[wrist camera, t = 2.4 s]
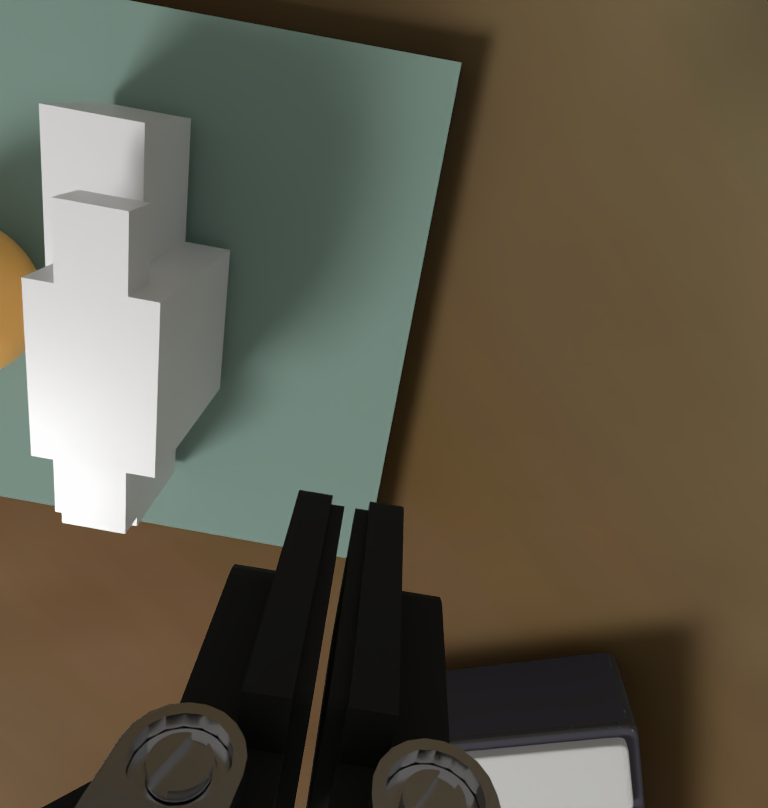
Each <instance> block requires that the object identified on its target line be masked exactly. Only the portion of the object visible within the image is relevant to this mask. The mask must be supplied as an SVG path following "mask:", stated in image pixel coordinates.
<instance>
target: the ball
mask: <svg viewBox="0 0 768 808" xmlns="http://www.w3.org/2000/svg"><path fill="white" fill-rule="evenodd" d="M35 271H36V269H35V267H34V265H33V263H32V262H31V260H30V258H29V257H28V256H27V254H26V253H25V252H24V251H23V249H22V248H21V247H20V246H19V245H18V244H17V243H16V242H15V241H14V240H12V239H11V238H10V237H9V236H8V235H6V234H5V233H3V232H2V231H0V369H2V368H4V367H6V366H8V365H9V364H11V363H12V362H14V361H15V360H16V359H17V358H19V357H20V356H21V355H22V354H23V353H24V352H25V336H24V318H23V300H22V282H21V277H23V276H25V275H28V274H30V273H32V272H35Z"/></svg>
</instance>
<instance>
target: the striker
mask: <svg viewBox="0 0 768 808" xmlns="http://www.w3.org/2000/svg"><path fill="white" fill-rule="evenodd" d="M39 121H40V146H41V171H42V196H43V220H44V245H45V267H44V268H41V269H39V270H37V271H35V272H32V273H30V274H28V275H25V276H23V277H21V282H22V300H23V318H24V336H25V354H26V372H27V390H28V408H29V426H30V444H31V456H36V457H41V458H47V459H52V460H53V468H54V493H55V512H61V513H62V523H67V524H73V525H78V526H84V527H89V528H95V529H101V530H106V531H112V532H117V533H123V534H126V532H127V531H128V529H129V528H130V527H131V525H133V526H137V525H138V524H139V522H140V521H141V519H142V518H143V517H144V515H145V514H146V512H147V511H148V509H149V508H150V506H151V505H152V503H153V502H154V501H155V499H156V498H157V496H158V495H159V493H160V492H161V490H162V489H163V487H164V486H165V485H166V483H167V482H168V480H169V479H170V477H171V476H172V474H173V473H174V472H175V456H176V448H177V447H178V445H179V444H180V443H181V441H182V440H183V439H184V437H185V436H186V434H187V433H188V432H189V430H190V429H191V428H192V426H193V425H194V423H195V422H196V421H197V419H198V418H199V417H200V415H201V414H202V412H203V411H204V410H205V408H206V407H207V406H208V404H209V403H210V401H211V400H212V399H213V397H214V396H215V395H216V393H217V392H218V391H219V389H220V380H221V367H222V353H223V340H224V326H225V313H226V299H227V286H228V272H229V259H230V250H228V249H223V248H217V247H212V246H206V245H201V244H195V243H190V242H185V239H186V218H187V196H188V174H189V153H190V131H191V118H185V117H180V116H174V115H169V114H164V113H158V112H153V111H147V110H142V109H137V108H131V107H126V106H120V105H115V104H110V103H104V102H78V103H39Z"/></svg>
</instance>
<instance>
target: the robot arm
mask: <svg viewBox="0 0 768 808" xmlns="http://www.w3.org/2000/svg"><path fill="white" fill-rule="evenodd" d="M332 499H333V495H328V494H322V493H316V492H310V491H304V490H299V492H298V496H297V499H296V503H295V506H294V510H293V513H292V517H291V520H290V524H289V527H288V530H287V534H286V537H285V541H284V544H283V548H282V551H281V555H280V558H279V562H278V565H277V569H276V571H274V570H268V569H262V568H256V567H249V566H243V565H237V564H235V565H234V566H233V567H232V569H231V571H230V574H229V576H228V579H227V582H226V584H225V587H224V589H223V592H222V595H221V597H220V600H219V602H218V605H217V608H216V610H215V613H214V616H213V618H212V621H211V623H210V626H209V629H208V631H207V634H206V637H205V639H204V642H203V644H202V647H201V650H200V652H199V655H198V658H197V660H196V663H195V665H194V668H193V671H192V673H191V676H190V678H189V681H188V684H187V686H186V689H185V692H184V694H183V697H182V699H181V702H180V703H177V704H169V705H166V706H163V707H160V708H158V709H155V710H152V711H150V712H148V713H147V714H145V715H144V716H142V717H141V718H139V719H138V720H136V721H135V722H133V723H132V724H131V725H130V727H129V728H128V729H127V730H126V731H125V732H124V733H123V735H122V736H121V737H120V738H119V740H118V741H117V743H116V744H115V746H114V747H113V749H112V750H111V752H110V753H109V755H108V757H107V758H106V760H105V761H104V763H103V764H102V766H101V767H100V769H99V770H98V772H97V774H96V775H95V777H94V778H93V780H92V781H91V782H89V783H87V784H85V785H83V786H81V787H79V788H78V789H76V790H74V791H72V792H70V793H68V794H66V795H65V796H63V797H61V798H59V799H57V800H55V801H53V802H52V803H50V804H48V805H46V806H44V807H42V808H294V804H295V799H296V793H297V787H298V781H299V775H300V770H301V764H302V758H303V752H304V747H305V741H306V735H307V729H308V723H309V718H310V712H311V706H312V700H313V694H314V688H315V682H316V676H317V670H318V664H319V658H320V652H321V646H322V640H323V634H324V628H325V622H326V616H327V610H328V604H329V598H330V592H331V586H332V579H333V573H334V567H335V561H336V555H337V549H338V543H339V537H340V531H341V525H342V519H343V513H344V507H345V506H339V505H333V504H332ZM403 518H404V508H403V507H401V506H395V505H389V504H383V503H377V502H371V501H370V503H369V507H368V510H363V509H357V508H355V512H354V518H353V523H352V529H351V535H350V540H349V546H348V551H347V557H346V562H345V568H344V574H343V579H342V585H341V590H340V596H339V601H338V607H337V612H336V618H335V624H334V629H333V635H332V641H331V647H330V653H329V659H328V666H327V672H326V679H325V686H324V693H323V699H322V706H321V713H320V719H319V726H318V733H317V739H316V746H315V753H314V759H313V766H312V773H311V779H310V786H309V793H308V800H307V806H306V808H501V806H500V802H499V799H498V795H497V793H496V791H495V788H494V786H493V784H492V781H491V779H490V777H489V776H488V774H487V773H486V772H485V771H484V769H483V768H482V767H481V765H480V764H479V763H478V762H477V761H476V760H475V759H474V758H472V757H471V756H470V755H468V754H467V753H466V752H465V751H463V750H462V749H460V748H458V747H456V746H453V745H451V744H450V738H449V720H448V702H447V685H446V667H445V649H444V631H443V614H442V602H441V599H440V597H436V596H430V595H423V594H417V593H411V592H405V591H402V562H403Z"/></svg>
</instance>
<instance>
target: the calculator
mask: <svg viewBox="0 0 768 808" xmlns="http://www.w3.org/2000/svg"><path fill="white" fill-rule="evenodd" d="M446 685H447V702H448V720H449V738H450V744H451V745H453V746H456V747H458V748H460V749H462V750H463V751H465V752H466V753H467V754H468V755H470V756H471V757H472V758H474V759H475V760H476V761H477V762H478V763H479V764H480V765H481V767H482V768H483V769H484V771H485V772H486V773H487V774H488V776H489V777H490V779H491V781H492V784H493V786H494V788H495V791H496V793H497V795H498V799H499V802H500V806H501V808H645V803H644V792H643V780H642V769H641V758H640V746H639V736H638V730H637V726H636V723H635V720H634V716H633V713H632V710H631V707H630V703H629V700H628V697H627V694H626V691H625V687H624V684H623V681H622V678H621V674H620V671H619V668H618V665H617V662H616V659H615V657H614V656H613V655H612V654H610V653H605V652H603V653H593V654H584V655H575V656H567V657H558V658H549V659H541V660H532V661H524V662H515V663H506V664H498V665H489V666H480V667H472V668H463V669H455V670H446Z"/></svg>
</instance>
